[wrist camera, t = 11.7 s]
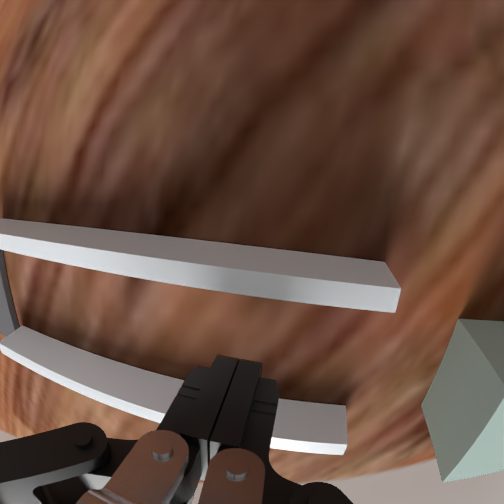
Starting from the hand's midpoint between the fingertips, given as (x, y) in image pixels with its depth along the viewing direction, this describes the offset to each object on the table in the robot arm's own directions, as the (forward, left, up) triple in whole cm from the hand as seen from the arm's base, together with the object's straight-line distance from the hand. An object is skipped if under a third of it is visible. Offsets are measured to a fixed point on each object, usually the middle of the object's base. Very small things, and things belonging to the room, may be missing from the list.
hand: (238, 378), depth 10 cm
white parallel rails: (0, -5, -3) cm, 6 cm away
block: (+1, +11, -3) cm, 12 cm away
